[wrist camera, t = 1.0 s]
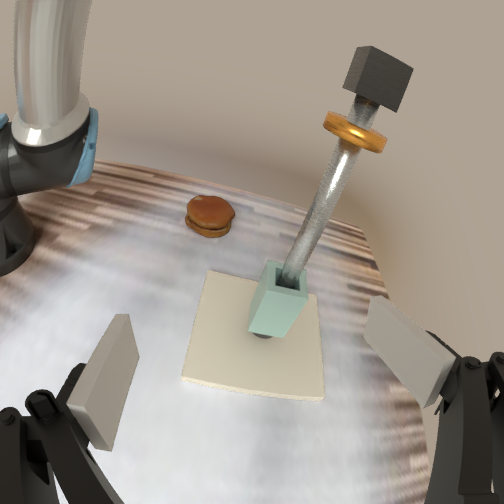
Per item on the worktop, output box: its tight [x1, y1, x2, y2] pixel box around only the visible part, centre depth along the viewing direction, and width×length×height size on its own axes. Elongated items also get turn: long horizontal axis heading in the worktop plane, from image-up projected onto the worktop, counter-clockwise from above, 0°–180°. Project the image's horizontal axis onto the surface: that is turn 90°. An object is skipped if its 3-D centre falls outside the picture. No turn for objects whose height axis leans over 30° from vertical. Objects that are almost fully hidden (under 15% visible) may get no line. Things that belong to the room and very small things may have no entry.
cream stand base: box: [181, 270, 325, 401], centre depth 37 cm, size 18×18×2 cm
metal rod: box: [252, 46, 413, 339], centre depth 26 cm, size 5×5×34 cm
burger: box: [185, 195, 235, 238], centre depth 53 cm, size 10×9×5 cm
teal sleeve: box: [248, 260, 308, 338], centre depth 32 cm, size 5×5×8 cm
